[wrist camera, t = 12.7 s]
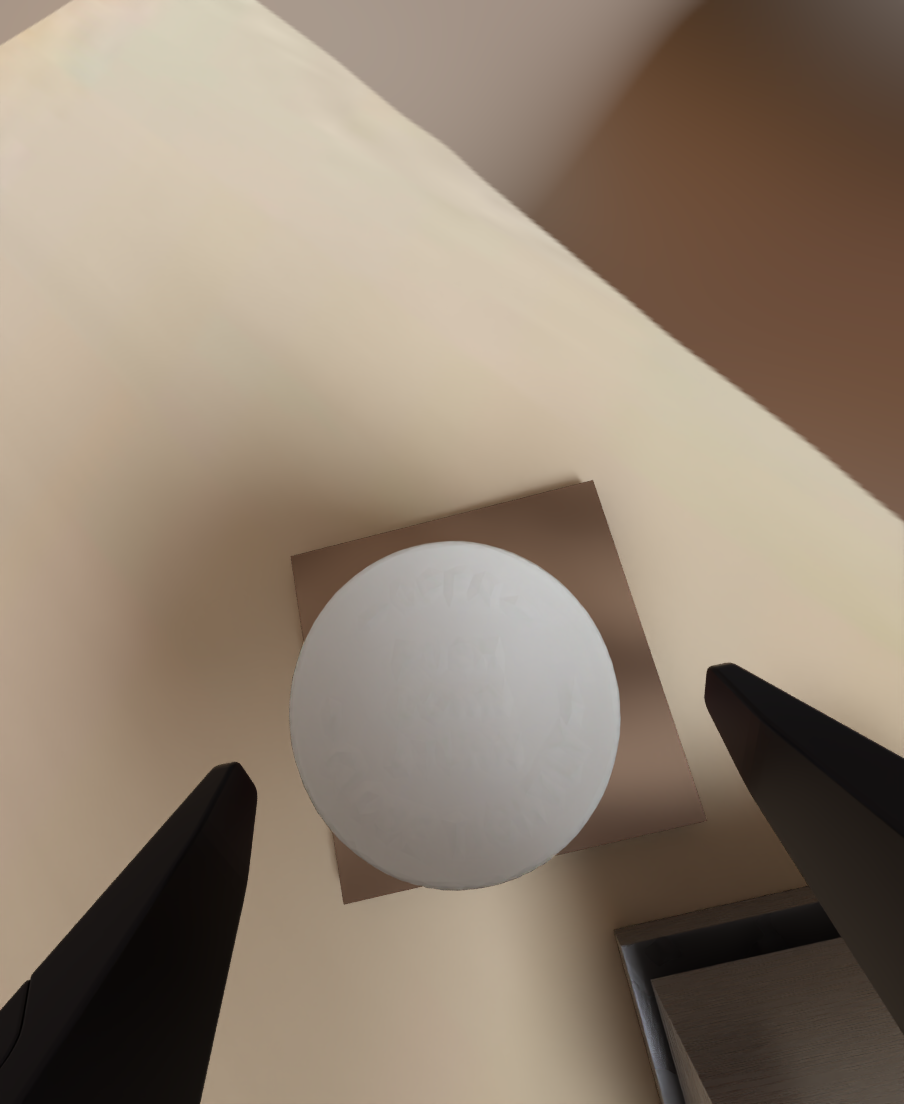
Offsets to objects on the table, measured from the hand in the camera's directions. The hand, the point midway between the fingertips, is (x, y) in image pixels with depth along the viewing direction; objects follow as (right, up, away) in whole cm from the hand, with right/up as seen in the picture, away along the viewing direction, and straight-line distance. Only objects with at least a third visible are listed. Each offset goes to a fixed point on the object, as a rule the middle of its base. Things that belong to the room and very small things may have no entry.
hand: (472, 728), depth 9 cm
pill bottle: (+1, -2, +9) cm, 9 cm away
